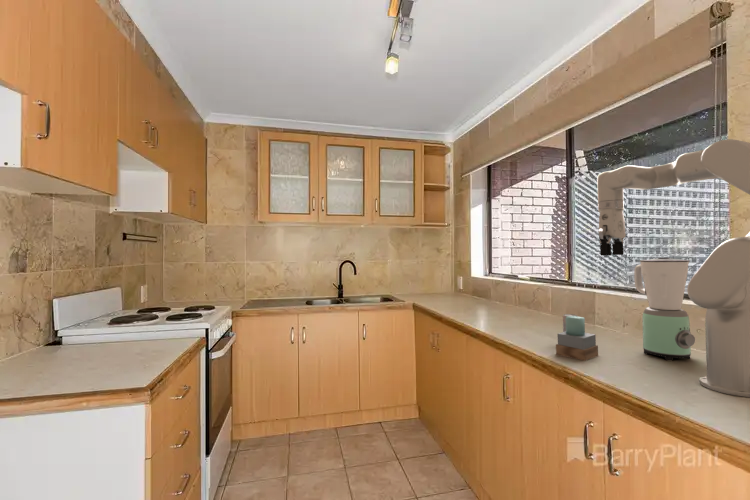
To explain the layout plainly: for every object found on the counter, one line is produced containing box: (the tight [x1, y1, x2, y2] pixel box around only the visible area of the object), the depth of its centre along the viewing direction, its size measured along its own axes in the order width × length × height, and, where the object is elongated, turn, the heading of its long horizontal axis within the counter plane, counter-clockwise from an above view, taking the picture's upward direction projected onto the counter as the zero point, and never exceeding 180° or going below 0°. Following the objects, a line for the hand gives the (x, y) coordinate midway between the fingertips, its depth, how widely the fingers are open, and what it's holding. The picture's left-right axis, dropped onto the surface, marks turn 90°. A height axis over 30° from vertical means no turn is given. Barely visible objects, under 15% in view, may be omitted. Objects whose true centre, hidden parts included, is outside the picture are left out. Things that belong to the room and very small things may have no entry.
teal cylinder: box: [566, 315, 586, 336], centre depth 127 cm, size 6×6×6 cm
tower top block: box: [557, 331, 597, 350], centre depth 127 cm, size 9×9×4 cm
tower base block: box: [555, 343, 599, 362], centre depth 126 cm, size 10×10×4 cm
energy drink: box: [562, 313, 578, 332], centre depth 140 cm, size 5×5×12 cm
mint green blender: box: [633, 256, 696, 362], centre depth 124 cm, size 19×13×35 cm
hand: (612, 255), depth 122 cm, fingers open, 9 cm apart
